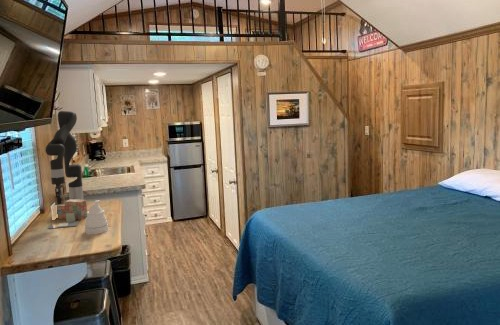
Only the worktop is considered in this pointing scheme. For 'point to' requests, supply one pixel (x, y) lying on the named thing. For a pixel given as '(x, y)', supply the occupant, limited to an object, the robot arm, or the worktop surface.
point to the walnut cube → (61, 200)
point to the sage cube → (70, 217)
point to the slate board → (65, 224)
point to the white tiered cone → (96, 220)
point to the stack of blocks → (73, 209)
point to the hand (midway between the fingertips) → (60, 202)
